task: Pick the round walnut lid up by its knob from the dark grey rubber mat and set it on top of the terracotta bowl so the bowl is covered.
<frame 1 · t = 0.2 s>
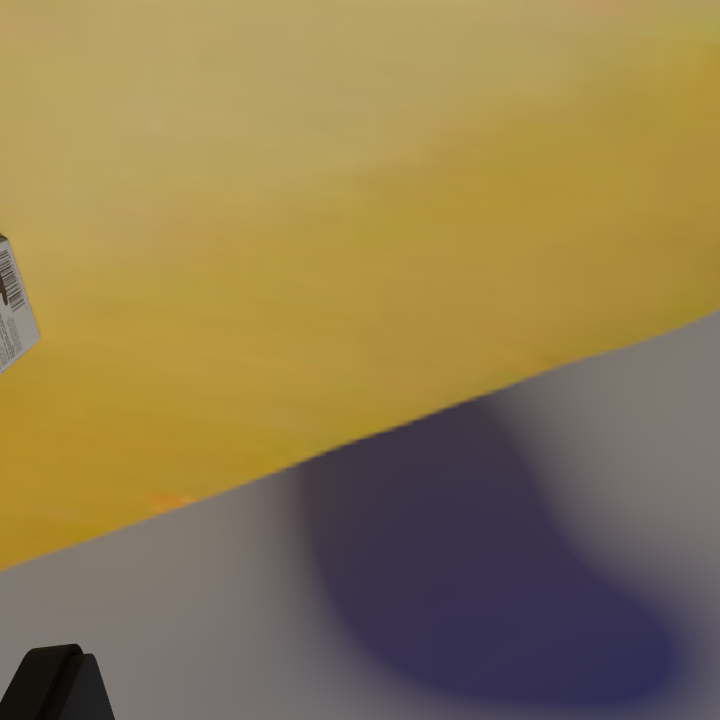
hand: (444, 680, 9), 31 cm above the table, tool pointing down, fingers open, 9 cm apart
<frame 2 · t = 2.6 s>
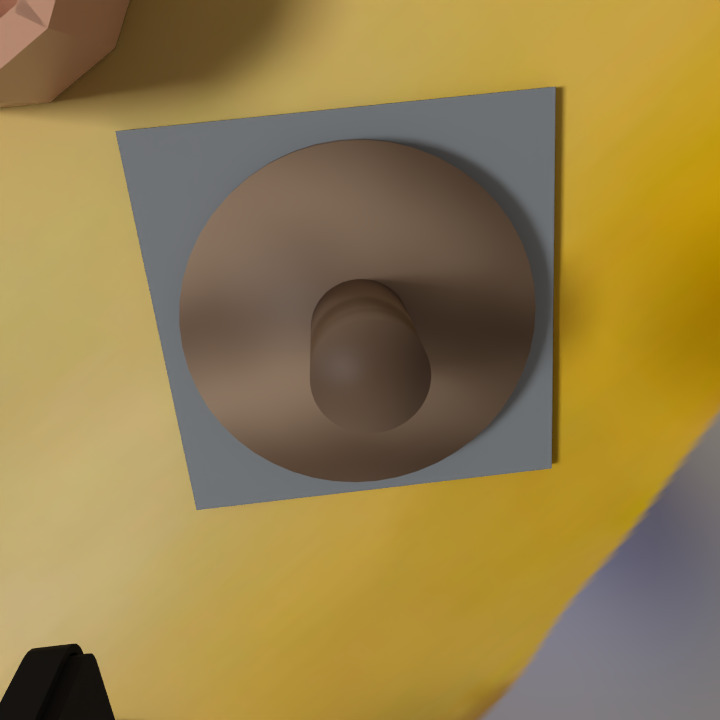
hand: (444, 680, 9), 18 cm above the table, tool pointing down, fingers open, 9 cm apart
lid: (358, 319, 25), resting on mat
mat: (357, 316, 26), on the table
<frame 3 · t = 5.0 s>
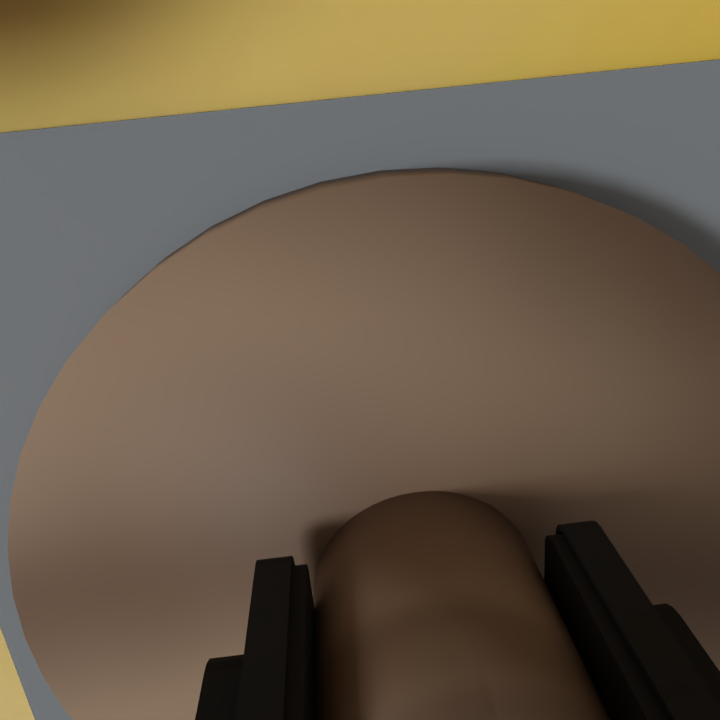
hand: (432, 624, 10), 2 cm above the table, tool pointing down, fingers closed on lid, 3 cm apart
lid: (415, 547, 12), resting on mat, touching gripper
mat: (412, 534, 12), on the table
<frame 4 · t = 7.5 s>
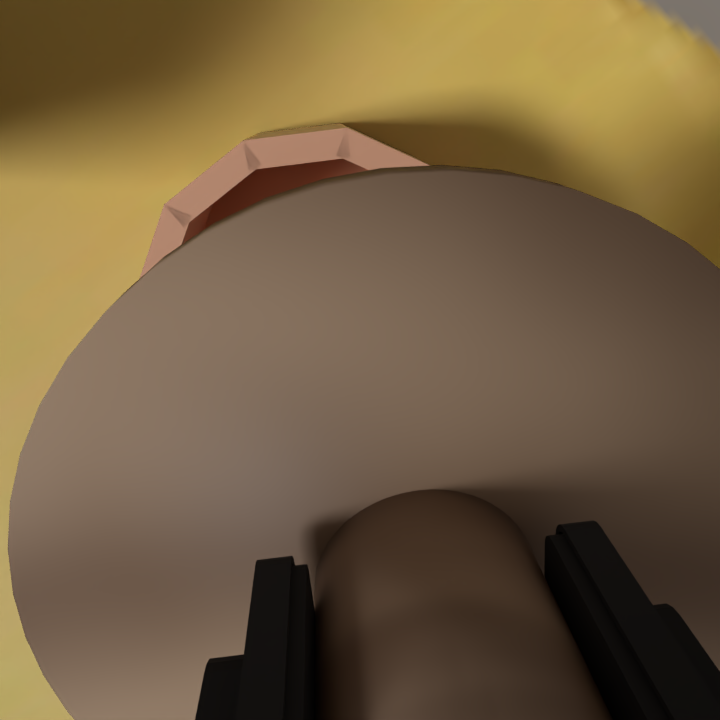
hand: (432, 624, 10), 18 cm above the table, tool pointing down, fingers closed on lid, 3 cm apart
lid: (416, 546, 12), point 16 cm above the table, touching gripper
bowl: (320, 273, 26), on the table
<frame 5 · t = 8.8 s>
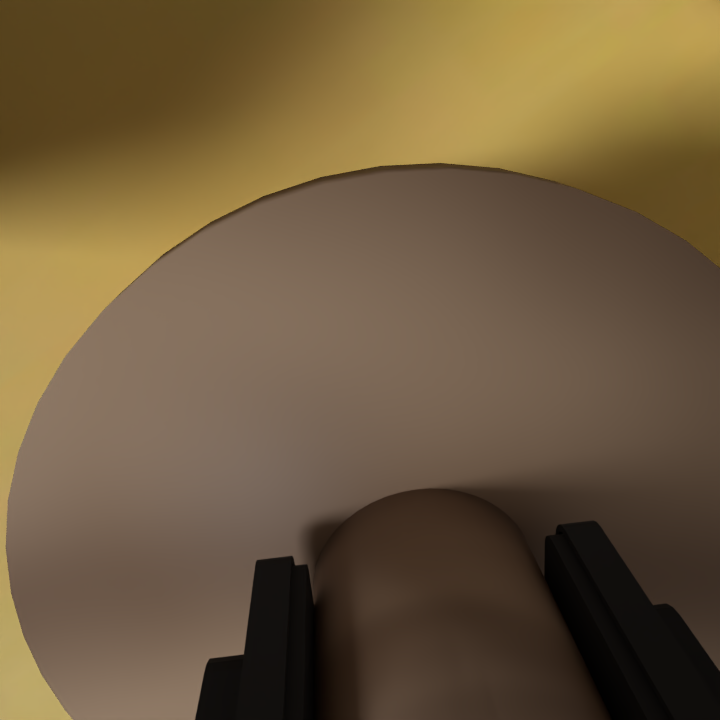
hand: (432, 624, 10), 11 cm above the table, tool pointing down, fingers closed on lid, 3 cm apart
lid: (415, 545, 12), point 10 cm above the table, touching gripper
when the fingers open (9 cm above the table, at t = 9.9 s): lid drops 1 cm, resting on bowl.
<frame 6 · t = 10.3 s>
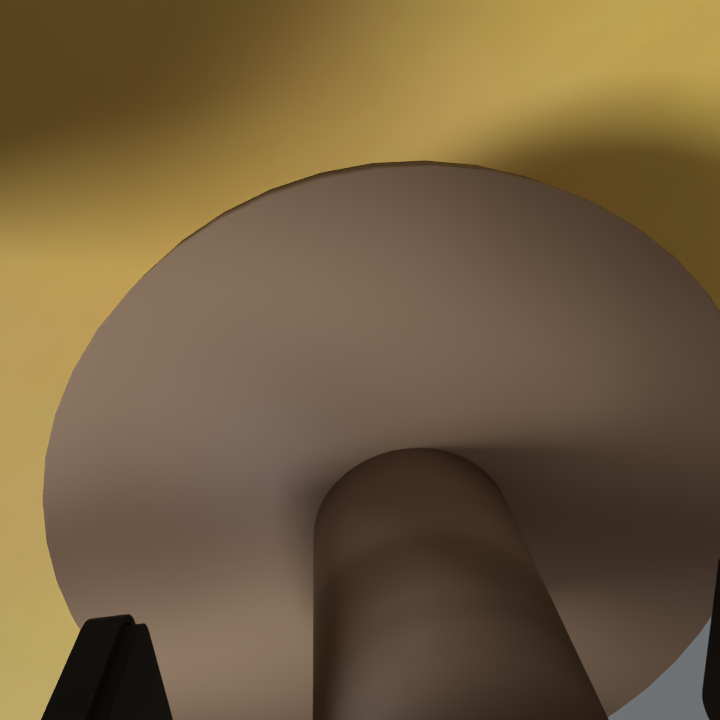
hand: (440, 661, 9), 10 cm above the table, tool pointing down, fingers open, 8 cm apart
lid: (405, 503, 13), point 6 cm above the table, touching bowl
mat: (714, 703, 24), on the table
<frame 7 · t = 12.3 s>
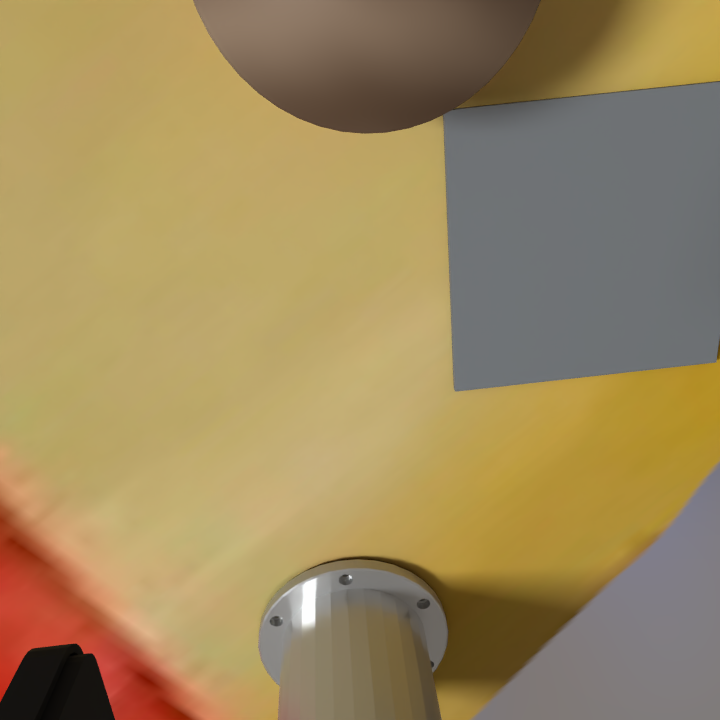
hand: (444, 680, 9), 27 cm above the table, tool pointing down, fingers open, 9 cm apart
mat: (590, 246, 35), on the table
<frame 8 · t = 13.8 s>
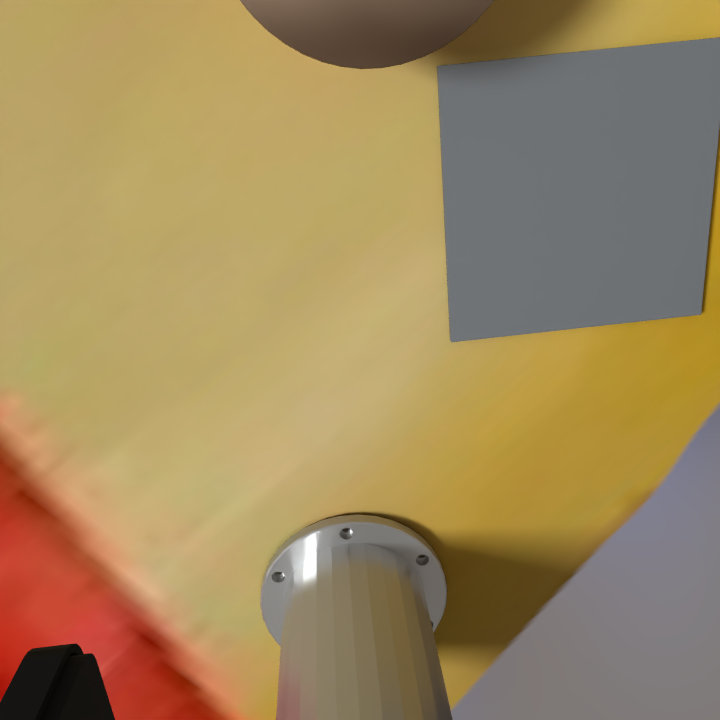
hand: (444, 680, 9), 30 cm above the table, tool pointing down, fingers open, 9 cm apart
mat: (577, 199, 37), on the table
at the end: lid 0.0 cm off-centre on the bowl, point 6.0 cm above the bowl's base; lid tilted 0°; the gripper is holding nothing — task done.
